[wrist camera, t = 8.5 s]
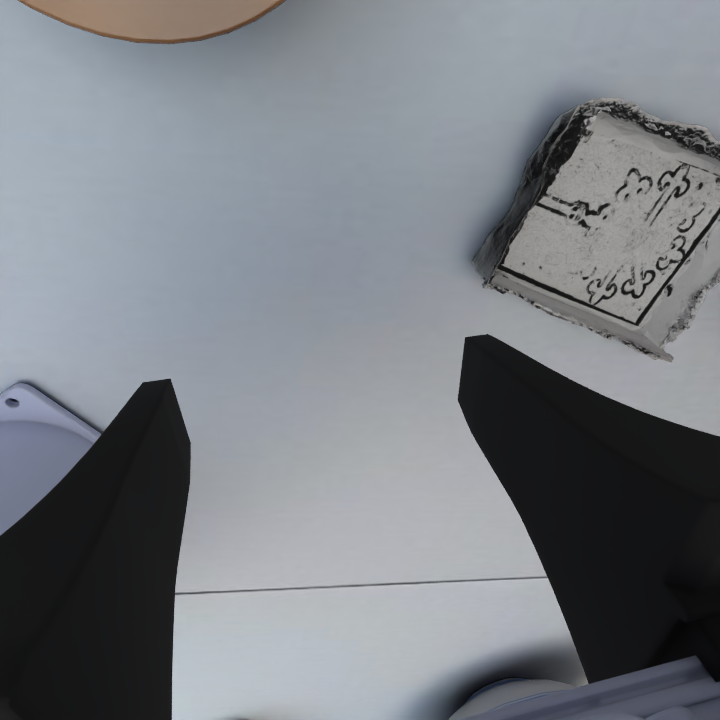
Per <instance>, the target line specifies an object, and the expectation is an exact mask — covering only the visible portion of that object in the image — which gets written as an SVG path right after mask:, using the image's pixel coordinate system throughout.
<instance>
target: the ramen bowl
mask: <svg viewBox="0 0 720 720" xmlns="http://www.w3.org/2000/svg"><path fill="white" fill-rule="evenodd" d="M576 687H577V686H573V685H570V684H566V683H562V682H557V681H552V680H536V679H535V680H527V679H522V678H507V679H503V680H500V681H497V682H494V683H491V684H489V685H487V686H485V687H482V688H481V689H479V690H478V691H477V692H475V693H474V694H473V695H472V696H471V697H470V698H469V699H468V700H467V702H466V703H465V705H463V706H462V707H461V708H460V709H458V710H457V711H456V712H455V713H454V714H453V715H452V716H451V717H450V719H449V720H458V719H461V718H465V717H469V716H473V715H476V714H480V713H484V712H487V711H491V710H495V709H499V708H502V707H506V706H510V705H513V704H517V703H521V702H524V701H528V700H532V699H536V698H539V697H543V696H547V695H550V694H554V693H558V692H562V691H565V690H569V689H573V688H576Z"/></svg>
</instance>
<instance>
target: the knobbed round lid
mask: <svg viewBox="0 0 720 720" xmlns="http://www.w3.org/2000/svg"><path fill="white" fill-rule="evenodd" d="M18 1H20V2H21V3H23V4H25V5H26V6H28V7H30V8H32V9H34V10H36V11H38V12H40V13H42V14H45V15H47V16H49V17H51V18H53V19H56V20H58V21H60V22H62V23H64V24H67V25H69V26H72V27H75V28H78V29H82V30H85V31H88V32H91V33H94V34H97V35H100V36H103V37H109V38H114V39H120V40H125V41H130V42H136V43H155V44H175V43H185V42H194V41H201V40H205V39H209V38H212V37H216V36H220V35H223V34H227V33H230V32H232V31H234V30H237V29H239V28H241V27H243V26H245V25H248V24H250V23H252V22H254V21H256V20H258V19H259V18H261V17H262V16H264V15H265V14H267V13H268V12H270V11H271V10H273V9H275V8H276V7H278V6H279V5H281V4H282V3H283V2H284V1H285V0H18Z"/></svg>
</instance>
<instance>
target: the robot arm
mask: <svg viewBox="0 0 720 720" xmlns="http://www.w3.org/2000/svg"><path fill="white" fill-rule="evenodd" d="M9 398H13V399H16V400H17V401H18V402H13V401H11V400H10V399H9ZM458 402H459V404H460V407H461V409H462V412H463V414H464V417H465V419H466V421H467V424H468V426H469V428H470V431H471V433H472V434H473V436H474V438H475V440H476V441H477V443H478V445H479V447H480V448H481V450H482V452H483V453H484V455H485V457H486V458H487V460H488V462H489V463H490V465H491V467H492V468H493V470H494V472H495V473H496V475H497V477H498V478H499V480H500V482H501V483H502V485H503V487H504V488H505V490H506V492H507V493H508V495H509V497H510V498H511V500H512V502H513V504H514V506H515V507H516V509H517V511H518V513H519V515H520V517H521V519H522V521H523V523H524V525H525V527H526V529H527V532H528V534H529V536H530V538H531V540H532V542H533V545H534V547H535V549H536V551H537V553H538V556H539V558H540V560H541V563H542V565H543V567H544V570H545V572H546V574H547V577H548V579H549V581H550V584H551V586H552V588H553V591H554V593H555V596H556V598H557V601H558V603H559V606H560V608H561V611H562V613H563V616H564V618H565V621H566V623H567V626H568V628H569V631H570V634H571V636H572V639H573V642H574V644H575V647H576V650H577V653H578V655H579V658H580V661H581V664H582V666H583V669H584V672H585V675H586V677H587V680H588V683H589V684H587V685H584V686H580V687H576V688H573V689H569V690H565V691H562V692H558V693H554V694H550V695H547V696H543V697H539V698H536V699H532V700H528V701H524V702H521V703H517V704H513V705H510V706H506V707H502V708H499V709H495V710H491V711H487V712H484V713H480V714H476V715H473V716H469V717H465V718H461V719H458V720H720V437H719V436H715V435H712V434H708V433H705V432H702V431H698V430H695V429H691V428H688V427H685V426H682V425H679V424H676V423H673V422H670V421H667V420H664V419H661V418H658V417H655V416H653V415H650V414H647V413H644V412H642V411H639V410H637V409H634V408H632V407H629V406H627V405H624V404H622V403H620V402H617V401H615V400H612V399H610V398H608V397H605V396H603V395H601V394H599V393H597V392H595V391H593V390H591V389H588V388H586V387H584V386H582V385H580V384H578V383H576V382H574V381H572V380H570V379H568V378H567V377H565V376H563V375H561V374H559V373H557V372H555V371H553V370H552V369H550V368H548V367H546V366H544V365H543V364H541V363H539V362H537V361H536V360H534V359H532V358H530V357H529V356H527V355H525V354H523V353H522V352H520V351H518V350H516V349H515V348H513V347H511V346H509V345H508V344H506V343H504V342H502V341H500V340H498V339H497V338H495V337H493V336H490V335H488V334H486V335H479V336H472V337H465V343H464V352H463V360H462V369H461V377H460V386H459V394H458ZM190 460H191V443H190V440H189V436H188V433H187V430H186V427H185V424H184V420H183V417H182V414H181V411H180V407H179V404H178V401H177V398H176V395H175V391H174V388H173V385H172V382H171V379H164V380H157V381H150V382H143V383H142V384H141V386H140V387H139V388H138V389H137V390H136V392H135V393H134V394H133V395H132V397H131V398H130V399H129V401H128V402H127V403H126V404H125V406H124V407H123V408H122V410H121V411H120V412H119V413H118V415H117V416H116V417H115V419H114V420H113V421H112V422H111V424H110V425H109V426H108V427H107V429H106V430H105V431H104V432H103V433H102V434H101V433H99V432H98V431H96V430H95V429H93V428H92V427H90V426H89V425H87V424H86V423H85V422H83V421H82V420H80V419H79V418H77V417H76V416H74V415H73V414H71V413H70V412H68V411H67V410H66V409H64V408H63V407H61V406H60V405H58V404H57V403H55V402H54V401H52V400H51V399H49V398H48V397H46V396H45V395H44V394H42V393H41V392H39V391H38V390H36V389H35V388H33V387H32V386H30V385H28V384H23V383H19V384H15V385H13V386H11V387H10V388H9V389H7V390H6V391H4V392H3V393H2V394H0V720H172V658H173V625H174V602H175V585H176V575H177V566H178V560H179V553H180V546H181V540H182V533H183V527H184V520H185V513H186V507H187V500H188V493H189V485H190Z"/></svg>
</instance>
